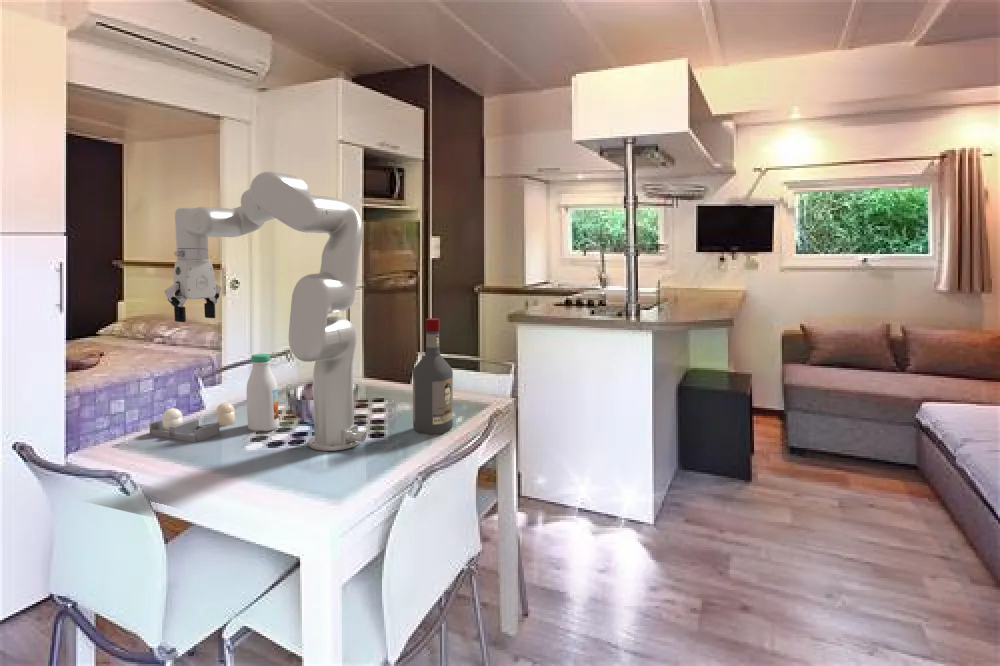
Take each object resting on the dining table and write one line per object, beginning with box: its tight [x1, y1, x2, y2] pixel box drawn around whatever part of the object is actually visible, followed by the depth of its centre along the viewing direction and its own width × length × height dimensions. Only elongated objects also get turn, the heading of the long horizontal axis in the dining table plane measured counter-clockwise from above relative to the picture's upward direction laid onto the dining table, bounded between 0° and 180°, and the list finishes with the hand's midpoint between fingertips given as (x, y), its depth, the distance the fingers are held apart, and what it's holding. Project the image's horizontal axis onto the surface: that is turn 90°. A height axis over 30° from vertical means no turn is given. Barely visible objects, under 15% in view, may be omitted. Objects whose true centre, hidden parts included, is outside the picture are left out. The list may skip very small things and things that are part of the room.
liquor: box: [412, 317, 454, 436], centre depth 162 cm, size 9×9×30 cm
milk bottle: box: [246, 353, 280, 432], centre depth 162 cm, size 8×8×20 cm
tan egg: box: [215, 402, 236, 427], centre depth 165 cm, size 5×5×6 cm
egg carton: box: [148, 418, 220, 443], centre depth 155 cm, size 15×7×4 cm, turn 69°
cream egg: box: [161, 407, 184, 432], centre depth 156 cm, size 5×5×6 cm
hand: (195, 319), depth 163 cm, fingers open, 9 cm apart
